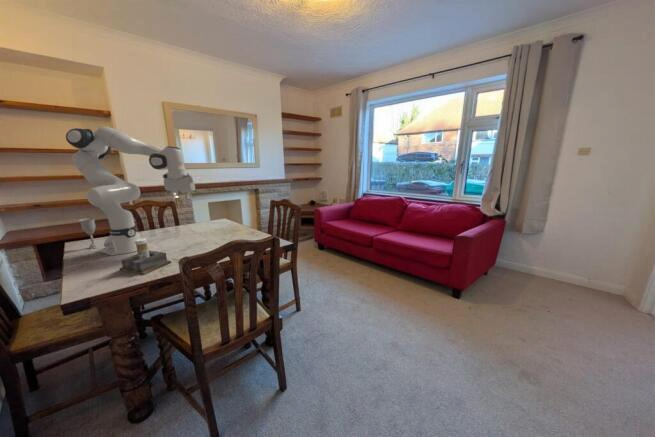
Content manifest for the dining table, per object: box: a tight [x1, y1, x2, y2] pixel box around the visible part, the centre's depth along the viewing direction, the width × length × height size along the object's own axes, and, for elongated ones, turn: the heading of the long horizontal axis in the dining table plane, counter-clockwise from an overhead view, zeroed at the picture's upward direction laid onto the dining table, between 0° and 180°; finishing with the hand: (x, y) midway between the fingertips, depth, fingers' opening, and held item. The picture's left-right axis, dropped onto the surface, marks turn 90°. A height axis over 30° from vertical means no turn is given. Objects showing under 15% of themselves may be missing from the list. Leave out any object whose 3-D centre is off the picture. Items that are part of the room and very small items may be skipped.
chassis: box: [119, 249, 172, 276], centre depth 125 cm, size 17×14×6 cm
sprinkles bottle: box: [135, 238, 150, 260], centre depth 124 cm, size 5×5×13 cm
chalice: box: [78, 217, 100, 249], centre depth 153 cm, size 7×7×18 cm
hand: (181, 198), depth 150 cm, fingers open, 8 cm apart
